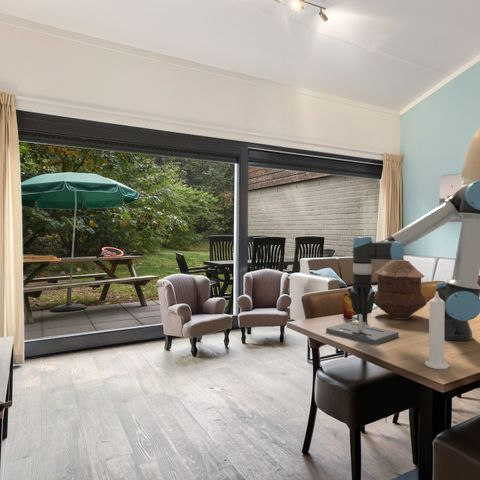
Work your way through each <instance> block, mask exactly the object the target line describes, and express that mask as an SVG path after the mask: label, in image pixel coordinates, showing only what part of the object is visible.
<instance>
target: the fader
mask: <svg viewBox="0 0 480 480" xmlns="http://www.w3.org/2000/svg"><path fill="white" fill-rule="evenodd" d="M351 322H352V332H355V333H360V332H363V330H359V321H358V320H356V321H352V320H351Z"/></svg>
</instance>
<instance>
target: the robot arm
mask: <svg viewBox="0 0 480 480" xmlns="http://www.w3.org/2000/svg"><path fill="white" fill-rule="evenodd" d="M454 219H462V220H461V225H460V226H461V227H460V231H459V237H458V243H457V249H456V255H455V260H454V265H453V271H452V276H451V279H449V280H447V281H446V282H443V281H442V282H438V283H436V287H435V292H436V291H438V295H439V297H440V299H442V300H443V301H444V302H445V316H444V340H445V341H447V340H448V341H454V342H465V341H471V340H472V339H473V331H472V329H471V326H470V323H469V321H472V320H474V319H476V318H477V317H478V316H479V315H480V285H479V284H478V283H479V282H478V281H479V275H480V179H476V180H474V181H472V182H470V183H467V184H465V185H463V186H462V187H461V188H459V190H457V191H456V192H455V193H453V194H452V195H451V196H449V197H447V198H446V199H444V203H442V204H441V205H439V206H437V207H436V208H434V209H431V211H429V212H428V213H426V214H424V215H423V216H421V217H420V218H417V219H416V220H415V221H413V222H411V223H410V224H408V225H406V226H405V227H403V228H402V229H399V230H398V231H396V232H395V233H393V234H391V235H390V236H388V237H387V238H385V239H383V240H380V241H373V238H372V237H371V236H355V237H354V238H353V244H352V273H353V274H352V282H353V284H352V287H350V288H347V291H348V293H350V298H351V303H352V308H353V311H355V312H357V320H358V321H359V330H364V329H365V325H366V322H368V314H369V315H370V314H371V313H372V312H373V307H374V305H375V304H374V300H375V296H376V295H377V293H378V292H377V290H374V289H373V286H372V282H373V279H372V278H373V275H372V274H371V273H373V271H372V270H373V267H372V265H373V260H382V261H383V260H385V261H386V260H387V261H391V260H403V257H404V249H405V248H406V247H407V248H408V247H409V246H410V245H412V244H414V243H415V242H417V241H419V240H420V239H422V238H423V237H426V236H427V235H428V234H430V233H432V232H434V231H436V230H438V229H439V228H441V227H443V226H445V224H447V223H449V222H451V221H454ZM356 297H357V299H356Z"/></svg>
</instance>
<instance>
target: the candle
mask: <svg viewBox="0 0 480 480" xmlns="http://www.w3.org/2000/svg"><path fill="white" fill-rule="evenodd" d="M428 303H429V304H428V305H429V307H428V309H429V310H428V311H429V313H428V314H429V316H428V318H429V319H428V320H429V321H428V327H429V328H428V334H429V335H428V359H427V360H425V361H424V365H425V367H428V368H431V369H433V370H448V369H449V368H450V366H449V364H448V363H447V362H445V339H444V316H445V302H444V301H443V300H442V299H440V297H439V295H438V291H436V290H435V294H434V297H433V298H431V299H430V300H429V302H428Z"/></svg>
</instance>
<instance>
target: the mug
mask: <svg viewBox="0 0 480 480" xmlns="http://www.w3.org/2000/svg"><path fill="white" fill-rule="evenodd" d="M342 298H343V300H342V301H343V302H342V303H343V306H342V308H343V309H342V310H343V311H342V313H343V314H342V315H343V316H342V318H343V317H344V318H343V319H345V318H346V320H349V319H352V316H354V315H357V312H355V311H353V308H352V303H351V298H350V293H349V292H348V293H343V295H342ZM356 299H357V297H356Z"/></svg>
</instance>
